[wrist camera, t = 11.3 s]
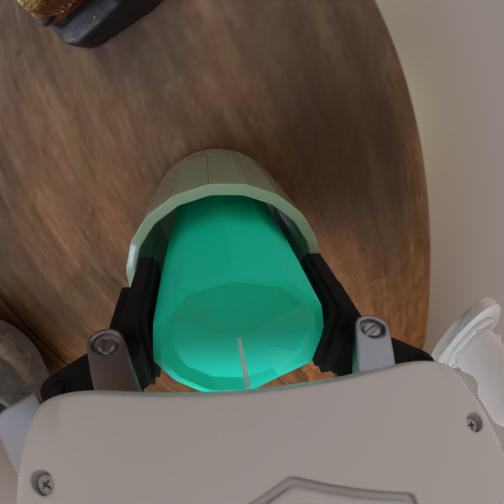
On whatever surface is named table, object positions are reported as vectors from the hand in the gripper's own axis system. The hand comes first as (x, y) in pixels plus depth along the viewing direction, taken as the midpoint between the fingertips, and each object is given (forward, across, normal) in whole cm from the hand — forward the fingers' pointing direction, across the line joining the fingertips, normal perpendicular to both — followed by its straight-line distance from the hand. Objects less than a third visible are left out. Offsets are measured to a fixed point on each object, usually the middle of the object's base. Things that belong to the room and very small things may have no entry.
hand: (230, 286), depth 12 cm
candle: (+7, 0, 0) cm, 7 cm away
